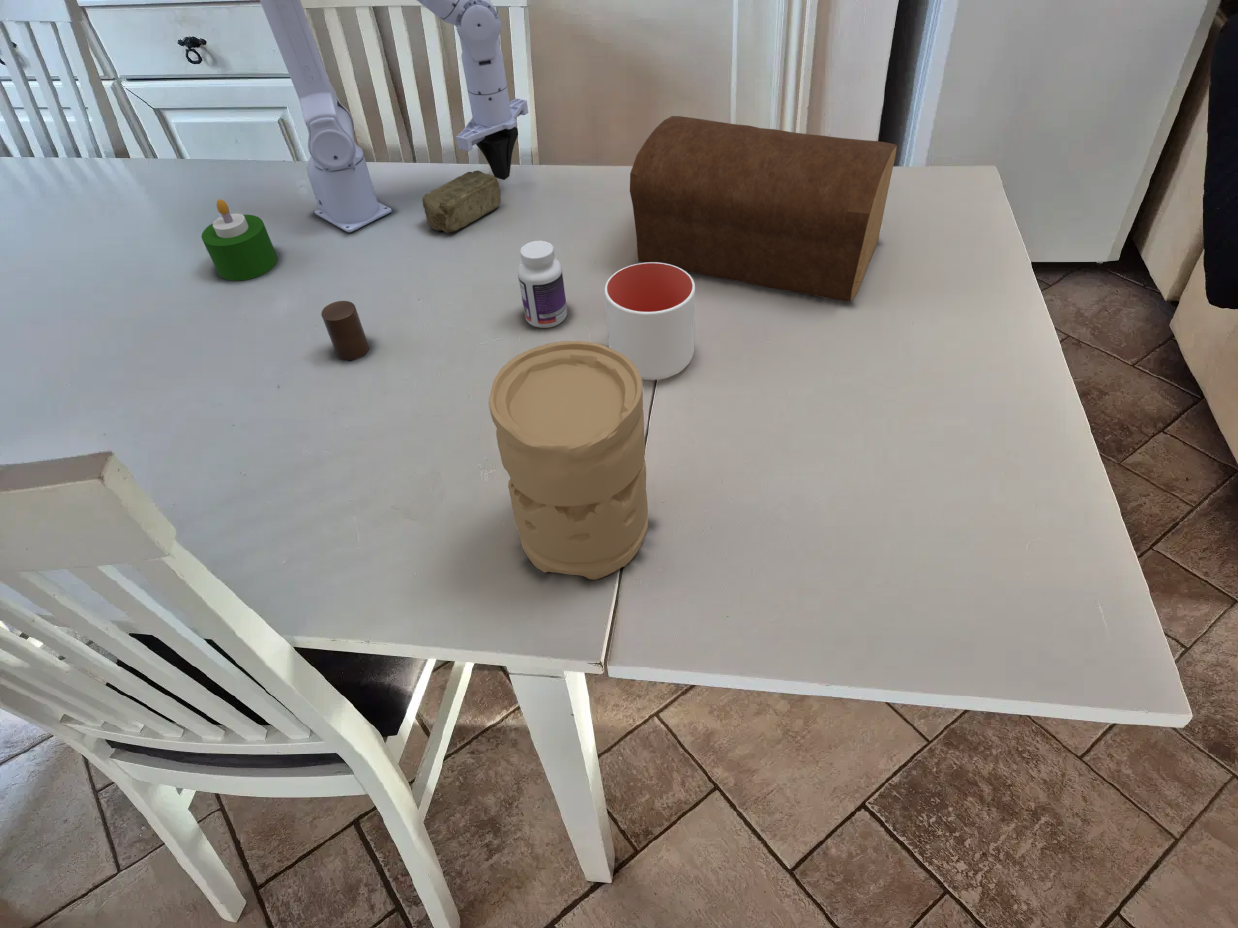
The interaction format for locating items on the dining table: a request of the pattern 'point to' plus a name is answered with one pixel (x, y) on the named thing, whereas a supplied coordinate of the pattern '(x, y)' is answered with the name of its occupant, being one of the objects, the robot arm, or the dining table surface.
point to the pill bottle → (541, 285)
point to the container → (574, 455)
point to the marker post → (345, 330)
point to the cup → (652, 317)
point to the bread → (761, 204)
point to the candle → (239, 245)
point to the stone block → (461, 201)
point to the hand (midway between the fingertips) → (502, 176)
